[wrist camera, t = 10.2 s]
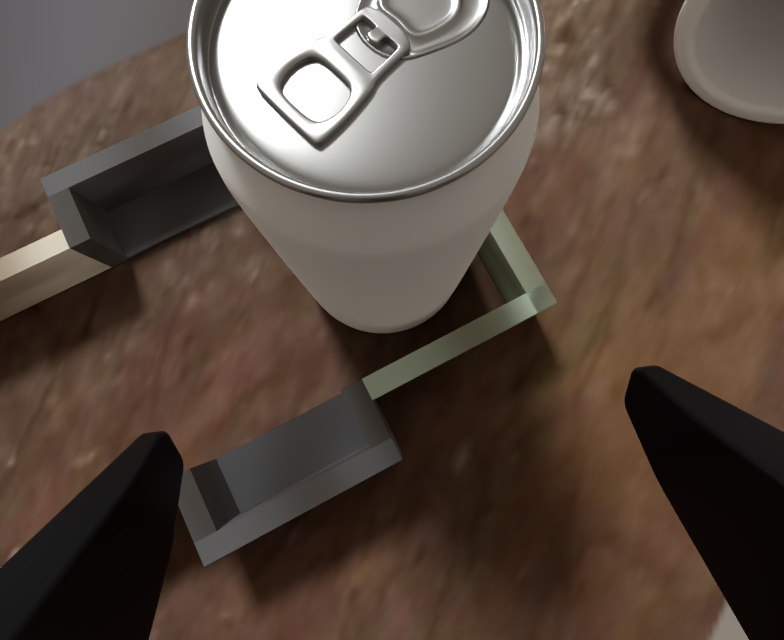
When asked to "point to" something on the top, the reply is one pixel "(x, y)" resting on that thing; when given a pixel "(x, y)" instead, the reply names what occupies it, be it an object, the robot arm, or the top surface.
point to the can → (370, 136)
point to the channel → (296, 437)
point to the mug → (734, 55)
